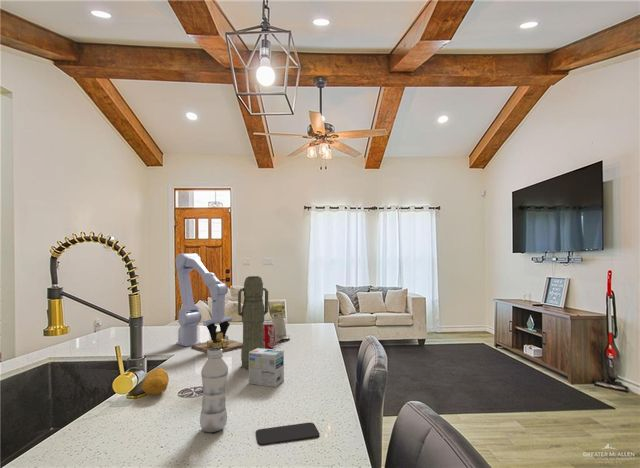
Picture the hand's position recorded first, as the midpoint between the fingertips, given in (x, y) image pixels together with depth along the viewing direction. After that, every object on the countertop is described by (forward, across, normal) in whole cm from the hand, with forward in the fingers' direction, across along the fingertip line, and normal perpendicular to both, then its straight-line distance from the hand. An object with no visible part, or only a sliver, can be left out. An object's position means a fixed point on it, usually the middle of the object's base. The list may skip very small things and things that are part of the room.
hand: (218, 339), depth 169 cm
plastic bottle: (+5, -45, -64) cm, 79 cm away
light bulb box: (+5, -14, -49) cm, 52 cm away
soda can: (+5, +15, -17) cm, 23 cm away
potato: (+5, -43, -29) cm, 53 cm away
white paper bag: (+5, +31, -7) cm, 32 cm away
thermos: (+5, -5, -31) cm, 32 cm away
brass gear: (+3, 0, 0) cm, 3 cm away
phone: (+5, -35, -80) cm, 88 cm away
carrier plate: (+4, +3, +3) cm, 6 cm away
